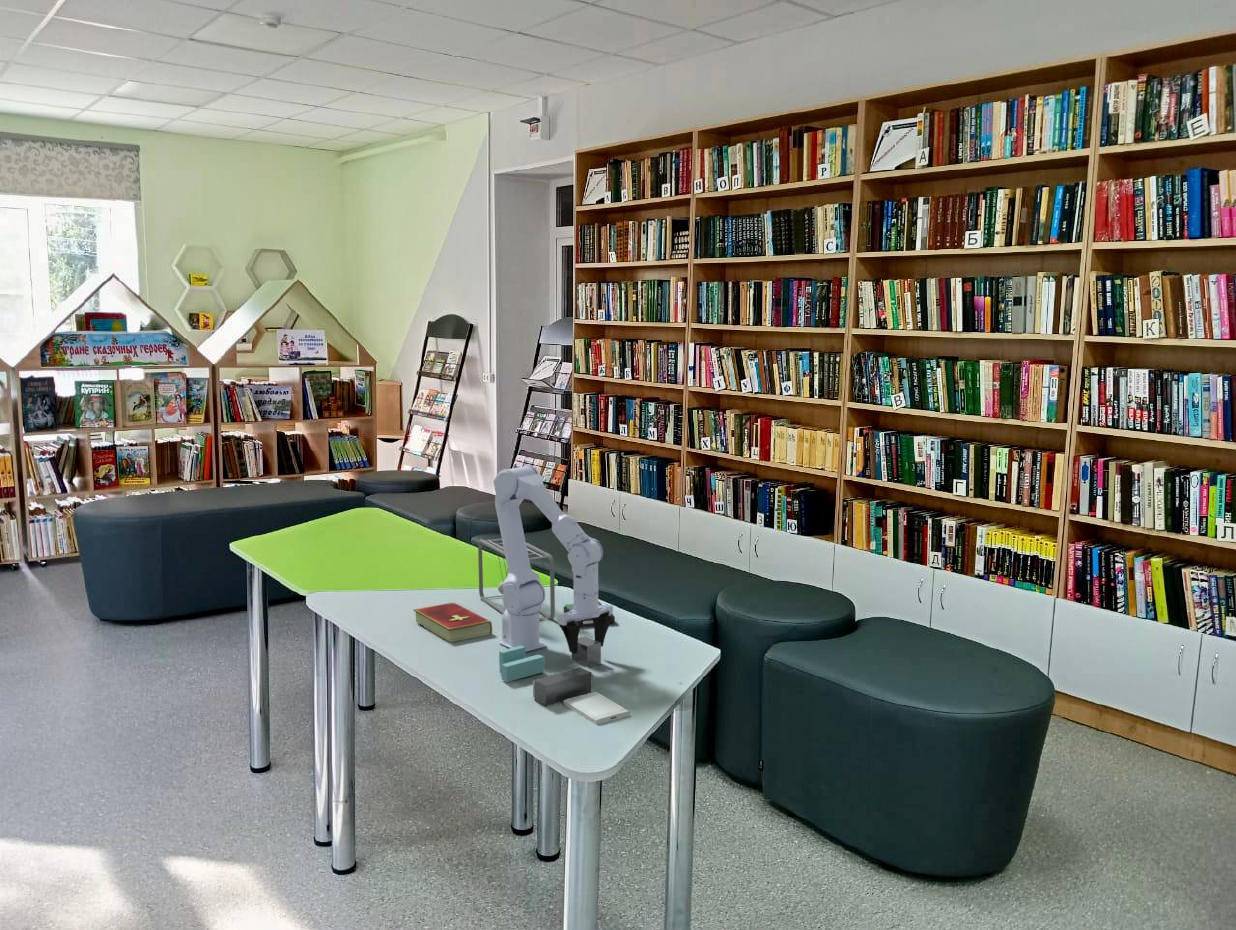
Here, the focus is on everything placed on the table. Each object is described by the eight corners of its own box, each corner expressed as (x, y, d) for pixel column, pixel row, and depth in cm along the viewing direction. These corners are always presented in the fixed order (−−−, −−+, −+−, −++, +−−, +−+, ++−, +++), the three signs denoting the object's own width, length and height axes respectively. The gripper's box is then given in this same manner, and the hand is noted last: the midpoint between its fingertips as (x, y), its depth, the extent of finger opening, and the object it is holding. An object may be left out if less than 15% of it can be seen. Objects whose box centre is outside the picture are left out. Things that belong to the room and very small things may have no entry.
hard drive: (563, 699, 201) (596, 719, 190) (596, 691, 205) (630, 709, 195) (563, 707, 201) (596, 727, 191) (596, 698, 205) (630, 717, 195)
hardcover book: (455, 615, 263) (454, 600, 263) (492, 635, 246) (492, 619, 246) (413, 623, 256) (413, 608, 256) (449, 644, 239) (449, 628, 239)
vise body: (529, 697, 204) (528, 677, 204) (574, 684, 212) (574, 664, 211) (545, 706, 200) (545, 685, 199) (591, 692, 207) (591, 672, 207)
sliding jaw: (492, 674, 217) (491, 653, 216) (529, 664, 223) (528, 643, 223) (506, 682, 212) (506, 660, 212) (544, 671, 219) (543, 650, 218)
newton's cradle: (478, 598, 278) (477, 538, 276) (512, 593, 283) (511, 534, 281) (518, 627, 252) (517, 560, 250) (555, 621, 257) (554, 555, 255)
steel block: (571, 660, 227) (571, 639, 227) (585, 656, 230) (584, 636, 229) (587, 667, 223) (587, 646, 222) (600, 663, 225) (600, 642, 225)
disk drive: (615, 626, 255) (598, 610, 268) (615, 616, 254) (598, 600, 268) (577, 630, 251) (562, 613, 265) (577, 620, 251) (562, 603, 265)
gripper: (571, 601, 216) (571, 660, 218) (621, 590, 225) (621, 646, 227) (552, 595, 222) (553, 652, 224) (602, 584, 231) (602, 639, 233)
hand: (586, 648), depth 226 cm, fingers open, 7 cm apart
